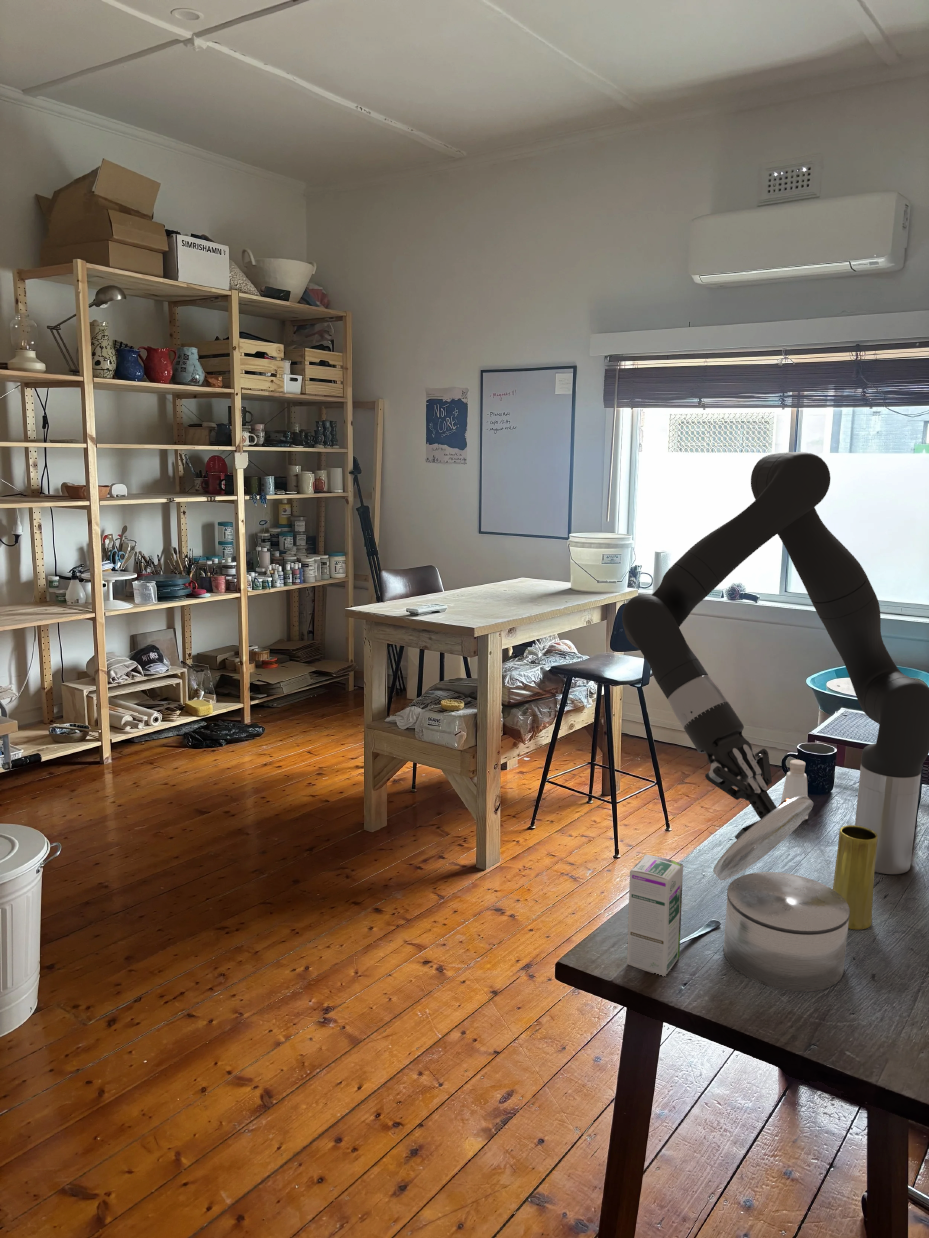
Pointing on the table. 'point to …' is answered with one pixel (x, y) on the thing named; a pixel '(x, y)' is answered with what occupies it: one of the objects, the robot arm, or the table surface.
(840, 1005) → the table surface
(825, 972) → the steel pot
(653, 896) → the syrup box
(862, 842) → the vase
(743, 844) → the pot lid
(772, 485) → the robot arm
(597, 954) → the table surface
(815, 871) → the table surface
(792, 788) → the pepper shaker
